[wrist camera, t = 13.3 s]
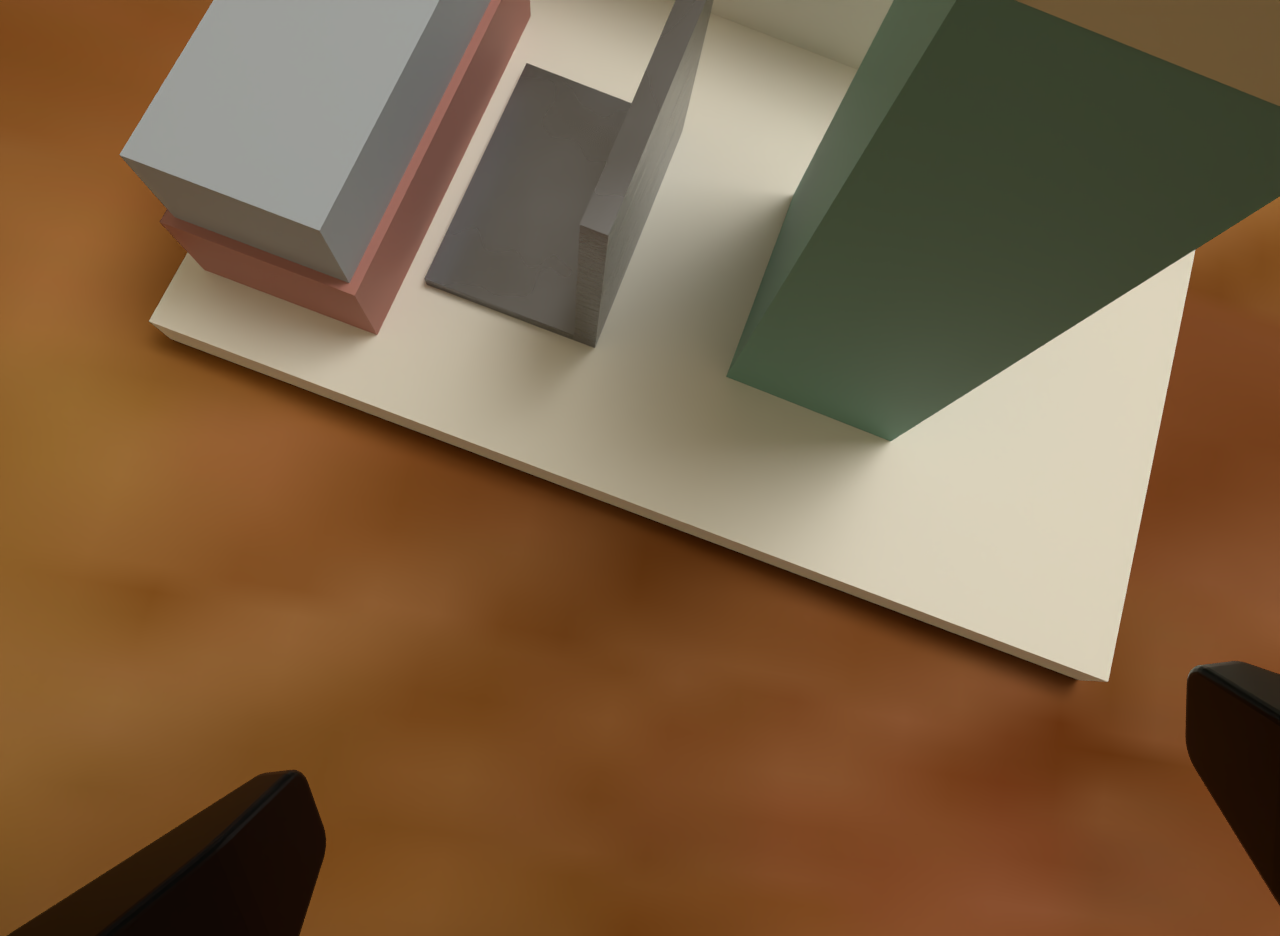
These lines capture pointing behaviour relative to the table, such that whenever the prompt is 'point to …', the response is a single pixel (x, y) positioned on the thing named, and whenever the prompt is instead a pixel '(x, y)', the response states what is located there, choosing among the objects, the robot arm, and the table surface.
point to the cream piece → (630, 290)
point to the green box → (1006, 191)
